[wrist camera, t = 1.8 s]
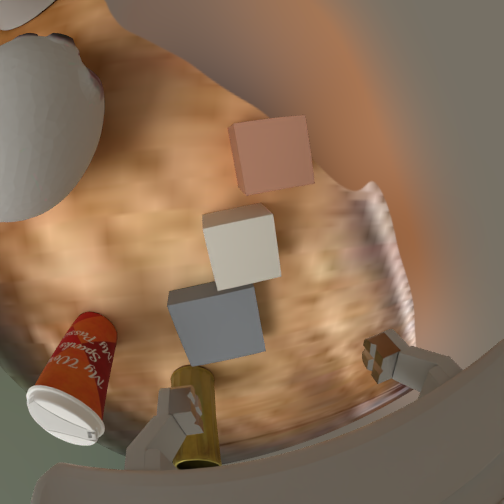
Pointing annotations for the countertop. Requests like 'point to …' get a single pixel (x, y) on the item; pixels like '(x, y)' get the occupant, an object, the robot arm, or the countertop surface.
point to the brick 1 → (271, 154)
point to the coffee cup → (76, 382)
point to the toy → (45, 123)
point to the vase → (204, 444)
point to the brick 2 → (241, 245)
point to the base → (216, 322)
